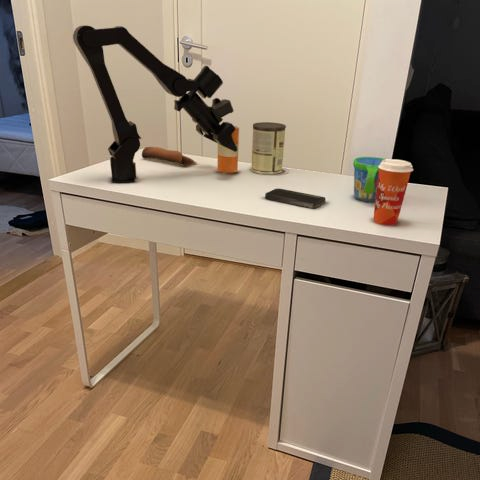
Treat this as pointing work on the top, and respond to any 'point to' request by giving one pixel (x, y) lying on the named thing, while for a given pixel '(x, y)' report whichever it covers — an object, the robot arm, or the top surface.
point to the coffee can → (268, 147)
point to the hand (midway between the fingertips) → (231, 148)
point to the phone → (295, 198)
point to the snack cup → (366, 177)
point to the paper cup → (391, 190)
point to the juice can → (228, 156)
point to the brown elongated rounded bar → (167, 155)
